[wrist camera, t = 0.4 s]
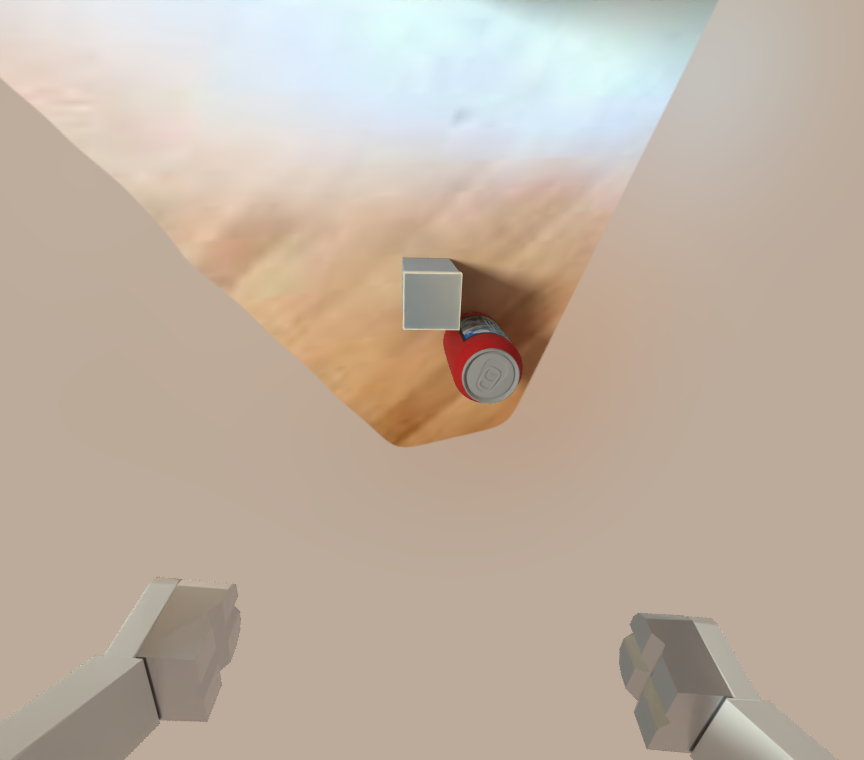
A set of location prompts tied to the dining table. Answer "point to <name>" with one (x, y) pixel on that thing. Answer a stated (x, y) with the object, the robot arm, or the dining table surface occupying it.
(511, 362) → the beverage can
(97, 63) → the dining table surface
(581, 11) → the dining table surface
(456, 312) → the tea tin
